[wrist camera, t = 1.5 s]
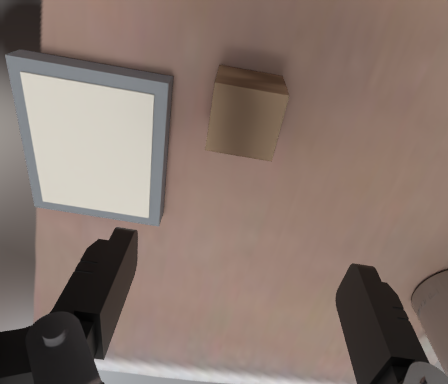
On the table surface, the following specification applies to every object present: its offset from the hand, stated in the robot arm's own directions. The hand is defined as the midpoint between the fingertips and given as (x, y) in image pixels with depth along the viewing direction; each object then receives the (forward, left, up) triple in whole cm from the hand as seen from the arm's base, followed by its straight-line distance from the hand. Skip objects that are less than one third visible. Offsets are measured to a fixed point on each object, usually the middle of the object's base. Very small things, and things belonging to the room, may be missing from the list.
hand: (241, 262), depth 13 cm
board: (+12, +6, -18) cm, 22 cm away
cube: (0, 0, -18) cm, 18 cm away
